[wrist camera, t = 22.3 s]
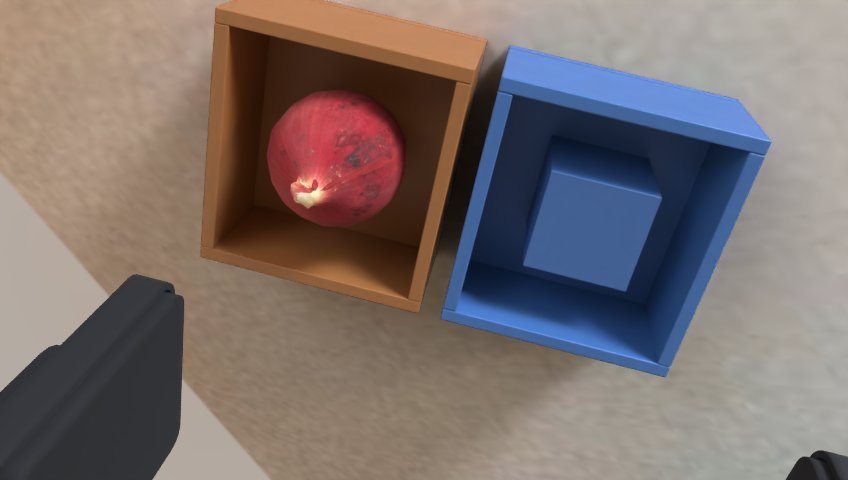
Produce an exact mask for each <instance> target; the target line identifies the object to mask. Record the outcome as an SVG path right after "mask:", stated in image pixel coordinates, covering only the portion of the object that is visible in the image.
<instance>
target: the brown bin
mask: <svg viewBox="0 0 848 480" xmlns="http://www.w3.org/2000/svg"><path fill="white" fill-rule="evenodd" d="M215 22H216V23H215V26H214V42H213V58H212V75H211V91H210V107H209V123H208V139H207V156H206V172H205V188H204V204H203V220H202V236H201V253H200V257H203V258H207V259H210V260H214V261H218V262H222V263H226V264H230V265H234V266H237V267H241V268H245V269H249V270H253V271H257V272H260V273H264V274H268V275H272V276H276V277H280V278H284V279H287V280H291V281H295V282H299V283H303V284H307V285H311V286H314V287H318V288H322V289H326V290H330V291H334V292H338V293H341V294H345V295H349V296H353V297H357V298H361V299H365V300H368V301H372V302H376V303H380V304H384V305H388V306H391V307H395V308H399V309H403V310H407V311H411V312H415V313H418V312H419V309H420V306H421V303H422V300H423V296H424V293H425V290H426V287H427V283H428V280H429V277H430V274H431V271H432V267H433V264H434V261H435V258H436V254H437V250H438V246H439V242H440V237H441V233H442V229H443V225H444V221H445V216H446V212H447V208H448V204H449V200H450V195H451V191H452V187H453V183H454V179H455V174H456V170H457V166H458V162H459V158H460V153H461V149H462V145H463V141H464V137H465V132H466V128H467V124H468V120H469V116H470V111H471V107H472V103H473V99H474V95H475V90H476V86H477V82H478V78H479V74H480V69H481V65H482V61H483V57H484V53H485V48H486V44H487V40H486V39H482V38H478V37H474V36H470V35H466V34H461V33H457V32H453V31H449V30H445V29H440V28H436V27H432V26H428V25H424V24H420V23H415V22H411V21H407V20H403V19H399V18H394V17H390V16H386V15H382V14H378V13H374V12H369V11H365V10H361V9H357V8H353V7H348V6H344V5H340V4H336V3H332V2H328V1H323V0H233V1H230V2H228V3H225V4H223V5H220V6H218V7H216V11H215ZM344 89H347V90H350V91H354V92H358V93H361V94H365V95H369V96H372V97H373V98H374V99H375V100H377V101H378V102H379V103H380V104H381V105H383V106H384V107H385V108H386V109H387V110H389V111H390V112H391V113H392V114H393V115H394V117H395V119H396V121H397V123H398V125H399V127H400V129H401V131H402V133H403V135H404V137H405V139H406V169H405V175H404V177H403V179H402V182H401V184H400V187H399V189H398V191H397V194H396V196H395V197H394V198H393V199H392V200H391V202H390V203H388V204H387V205H386V206H385V207H384V208H383V209H382V210H381V211H380V212H379V213H377V214H376V215H375V216H374V217H372V218H370V219H367V220H365V221H362V222H360V223H357V224H355V225H352V226H350V227H325V226H321V225H319V224H316V223H314V222H311V221H309V220H307V219H304V218H302V217H301V216H299V215H298V214H297V213H296V212H294V211H293V210H292V209H291V208H289V207H288V206H287V205H286V204H285V203H284V202H283V200H282V199H281V197H280V195H279V194H278V192H277V190H276V189H275V187H274V185H273V184H272V181H271V176H270V171H269V166H268V162H267V151H268V146H269V141H270V135H271V130H272V129H273V127H274V126H275V125H276V123H277V122H278V121H279V120H280V118H281V117H282V116H283V115H284V114H285V112H286V111H287V110H288V109H289V108H290V106H291V105H292V104H294V103H295V102H297V101H299V100H301V99H303V98H305V97H306V96H308V95H310V94H312V93H314V92H318V91H329V90H344Z"/></svg>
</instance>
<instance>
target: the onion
mask: <svg viewBox="0 0 848 480" xmlns="http://www.w3.org/2000/svg"><path fill="white" fill-rule="evenodd" d="M267 162H268V166H269V171H270V176H271V181H272V184H273V185H274V187H275V189H276V190H277V192H278V194H279V195H280V197H281V199H282V200H283V202H284V203H285V204H286V205H287V206H288V207H289V208H291V209H292V210H293V211H294V212H296V213H297V214H298V215H299V216H301V217H302V218H304V219H307V220H309V221H311V222H314V223H316V224H319V225H321V226H325V227H350V226H352V225H355V224H357V223H360V222H362V221H365V220H367V219H370V218H372V217H374V216H375V215H376V214H377V213H379V212H380V211H381V210H382V209H383V208H384V207H385V206H386V205H387V204H388V203H390V202H391V200H392V199H393V198H394V197H395V196H396V194H397V191H398V189H399V187H400V184H401V182H402V179H403V177H404V175H405V169H406V139H405V137H404V135H403V133H402V131H401V129H400V127H399V125H398V123H397V121H396V119H395V117H394V115H393V114H392V113H391V112H390V111H389V110H387V109H386V108H385V107H384V106H383V105H381V104H380V103H379V102H378V101H377V100H375V99H374V98H373V97H372V96H369V95H365V94H361V93H358V92H354V91H350V90H347V89H344V90H329V91H318V92H314V93H312V94H310V95H308V96H306V97H305V98H303V99H301V100H299V101H297V102H295V103H294V104H292V105H291V106H290V108H289V109H288V110H287V111H286V112H285V114H284V115H283V116H282V117H281V118H280V120H279V121H278V122H277V123H276V125H275V126H274V127H273V129H272V130H271V135H270V141H269V146H268V151H267Z"/></svg>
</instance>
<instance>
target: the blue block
mask: <svg viewBox="0 0 848 480" xmlns="http://www.w3.org/2000/svg"><path fill="white" fill-rule="evenodd" d="M661 200H662V196H661V193H660V190H659V187H658V184H657V181H656V178H655V175H654V172H653V169H652V166H651V163H650V160H649V159H647V158H643V157H639V156H635V155H631V154H627V153H623V152H619V151H615V150H611V149H607V148H602V147H598V146H594V145H590V144H586V143H582V142H578V141H574V140H570V139H566V138H562V137H558V136H553V135H552V136H551V140H550V143H549V146H548V150H547V153H546V157H545V160H544V163H543V167H542V170H541V173H540V177H539V180H538V183H537V187H536V190H535V193H534V197H533V200H532V203H531V207H530V210H529V214H528V217H527V220H526V230H525V242H524V254H523V266H527V267H530V268H534V269H538V270H542V271H546V272H550V273H554V274H558V275H562V276H566V277H570V278H574V279H578V280H582V281H585V282H589V283H593V284H597V285H601V286H605V287H609V288H613V289H617V290H621V291H626V289H627V287H628V284H629V282H630V279H631V277H632V274H633V271H634V269H635V266H636V264H637V261H638V259H639V256H640V254H641V251H642V248H643V246H644V243H645V241H646V238H647V236H648V233H649V230H650V228H651V225H652V223H653V220H654V218H655V215H656V213H657V210H658V207H659V205H660V202H661Z"/></svg>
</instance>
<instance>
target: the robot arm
mask: <svg viewBox="0 0 848 480" xmlns="http://www.w3.org/2000/svg"><path fill="white" fill-rule="evenodd" d="M183 326H184V299H183V297H182V296H180V295H176V294H175V289H174V286H173V285H172V284H171V283H168V282H164V281H161V280H157V279H153V278H149V277H145V276H141V275H137V274H136V275H132V276H131V277H129V278H128V279H127V280H126V281H125V282H124V283H123V284H122V285H121V286H120V287H119V288H118V289H117V290H116V291H115V292H114V293H113V294H112V295H111V296H110V297H109V298H108V299H107V300H106V301H105V302H104V303H103V304H102V305H101V306H100V307H99V308H98V309H97V310H96V311H95V312H94V313H93V314H92V315H91V316H90V317H89V318H88V319H87V320H86V321H85V322H84V323H83V324H82V325H81V326H80V327H79V328H78V329H77V330H76V331H75V332H74V333H73V334H72V335H71V336H70V337H69V338H68V339H67V340H66V341H65V342H63V344H61V345H54V346H51V347H48V348H47V349H46V350H44V351H43V352H42V353H40V354H39V355H38V356H37V357H36V359H34V360H33V361H32V362H31V363H30V364H29V365H28V366H27V367H26V368H25V369H24V370H23V371H22V372H21V373H20V374H19V375H18V376H17V377H16V378H15V379H14V380H13V381H11V382H10V383H9V385H7V386H6V387H5V388H4V389H3V390H2V391H1V392H0V480H152V479H153V478H154V476H155V475H156V473H157V471H158V470H159V468H160V467H161V465H162V464H163V462H164V461H165V459H166V458H167V456H168V455H169V453H170V451H171V450H172V448H173V446H174V444H175V442H176V440H177V437H178V434H179V429H180V416H181V387H182V356H183ZM786 480H848V457H846V456H842V455H838V454H834V453H830V452H827V451H816V452H815V453H813V454H812V455H811V456H810V458H809V457H802V458H800V459H799V460H798V461H797V462H796V464H795V465H794V467H793V469H792V470H791V472H790V474H789V475H788V477H787V478H786Z"/></svg>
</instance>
